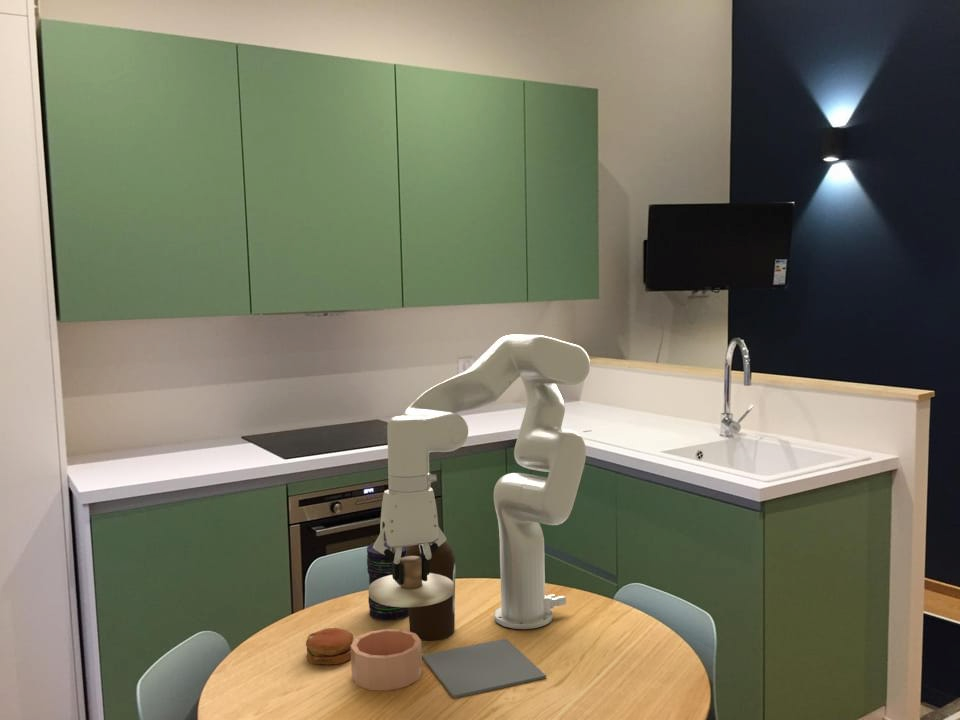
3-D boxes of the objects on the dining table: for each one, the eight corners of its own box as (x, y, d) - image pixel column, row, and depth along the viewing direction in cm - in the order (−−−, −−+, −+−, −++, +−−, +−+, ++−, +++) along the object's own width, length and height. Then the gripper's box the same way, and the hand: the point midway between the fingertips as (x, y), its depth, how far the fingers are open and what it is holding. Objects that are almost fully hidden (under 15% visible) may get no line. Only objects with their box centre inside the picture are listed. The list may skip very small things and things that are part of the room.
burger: (358, 662, 161) (357, 639, 161) (309, 671, 158) (308, 647, 158) (349, 642, 171) (348, 620, 170) (303, 650, 168) (302, 628, 167)
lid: (436, 573, 165) (435, 542, 164) (466, 598, 151) (466, 565, 150) (359, 585, 159) (358, 553, 158) (383, 612, 144) (382, 577, 144)
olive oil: (414, 645, 168) (410, 523, 166) (401, 626, 178) (397, 511, 176) (464, 636, 172) (461, 517, 170) (448, 618, 182) (445, 505, 180)
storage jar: (411, 620, 181) (408, 553, 180) (365, 621, 181) (363, 554, 180) (415, 603, 191) (413, 539, 190) (372, 604, 191) (369, 540, 190)
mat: (506, 640, 169) (506, 638, 169) (546, 678, 152) (546, 675, 152) (421, 657, 162) (421, 655, 162) (453, 698, 146) (453, 695, 146)
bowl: (409, 654, 164) (408, 624, 163) (430, 681, 152) (429, 649, 152) (346, 666, 159) (345, 636, 159) (362, 695, 148) (361, 663, 147)
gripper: (444, 475, 160) (445, 569, 161) (359, 483, 153) (361, 581, 155) (459, 482, 153) (460, 580, 154) (370, 491, 146) (372, 594, 148)
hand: (411, 580), depth 154 cm, fingers closed on lid, 4 cm apart
